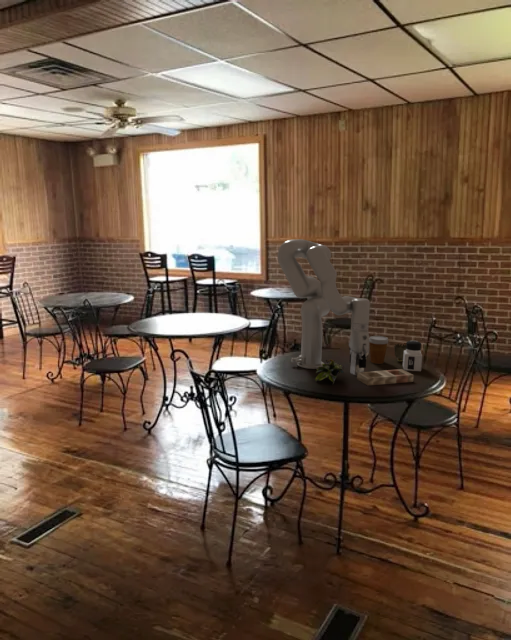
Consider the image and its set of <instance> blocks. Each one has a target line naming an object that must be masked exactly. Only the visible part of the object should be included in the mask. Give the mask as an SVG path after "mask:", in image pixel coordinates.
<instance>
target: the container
mask: <svg viewBox="0 0 511 640" xmlns="http://www.w3.org/2000/svg"><path fill="white" fill-rule="evenodd" d="M405 345H406V350H404V354H403V362H402V368H403V370H405V371H408V372H421V371H422V365H423V354H422V351H421V350H422V343H421V342H420V341H418V340H407V341H406V344H405Z"/></svg>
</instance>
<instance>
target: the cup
mask: <svg viewBox="0 0 511 640" xmlns="http://www.w3.org/2000/svg"><path fill="white" fill-rule="evenodd" d="M393 347H394V356H395V358H397V362H399V363H403V354H404V350H406V344H402V343H401V344H399V343H396V344H395V345H394V346H393Z"/></svg>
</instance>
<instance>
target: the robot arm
mask: <svg viewBox="0 0 511 640" xmlns="http://www.w3.org/2000/svg"><path fill="white" fill-rule="evenodd" d="M331 257H332V251H331V250H330V248H329V247H328V246H326V245H324V244H320V243H318V242H313V241H310V240H306V239H302V238H301V239H288V240H286V241H283V242H282V244H280V246H279V248H278V251H277V262H278V264H279V265H278V266H279V267H280V269H281V271H282V272H283V274H284V275H285V277H286V280H287V282H288V284H289V285H290V288H291V290H292V291H293V293H294V295H295V296H296V297H297V298H298V299H305V298H306V299H307V300H305V301H304V302H303V303H302V304H301V308H300V317H301V342H300V343H301V345H300V346H301V349H300V354H299V355H298V356H297V357H290V362H291V363H296V365H297V366H298V367H300V368H303V369H309V370H315V369H316V370H317V369H319V368H318V367H321V366H322V363H324V362H323V361H322V350H323V322H322V320H323V319H322V317H325V316H327V315H328V314H329V312H332V313H333V314H334V315H336V316H343V315H346V314H349V313H351V322H350V336H349V342H348V347H349V348H348V349H349V363H350V364H351V351H355V352H357V353H359V355H360V359H359V368H364V369H365V368H366V367H367V359H368V357H369V355H370V345H369V338H370V335H369V334H370V333H369V324H370V323H369V322H370V309H371V307H370V306H371V302H370V299H368V298H365V297H364V298H362V297H359V298H358V297H353V296H351V295H344V296H342V295H341V294H340V292H339V290H338V287H337V282H336V280H337V276H338V272H337V271H336V269H335V268H334V265H333V264H332V263H331V261H330V260H331ZM299 258H303V259H306V260H307V262H308V263H309V266H310V267H311V269H312V270H313V272H314V274H315V277H314V276H310V275H309V276H308V275H306V273H305V271H304V269H303V267H302V266H301V264H300V263H299V262H298V260H297V259H299ZM361 351H362V352H361ZM362 354H363V356H362Z"/></svg>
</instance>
